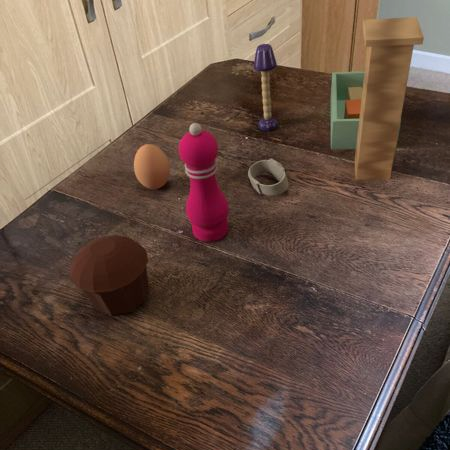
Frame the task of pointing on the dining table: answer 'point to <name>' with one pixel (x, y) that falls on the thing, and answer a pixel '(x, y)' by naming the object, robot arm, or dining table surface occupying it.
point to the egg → (151, 166)
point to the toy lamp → (265, 83)
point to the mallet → (353, 103)
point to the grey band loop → (274, 169)
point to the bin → (344, 128)
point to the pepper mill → (203, 185)
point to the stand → (383, 93)
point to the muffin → (112, 273)
